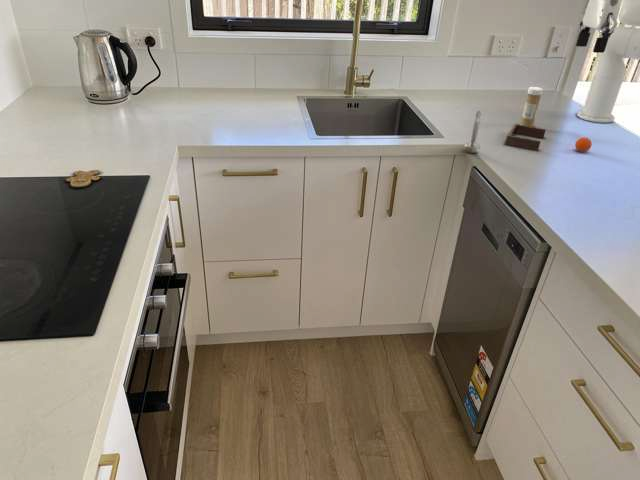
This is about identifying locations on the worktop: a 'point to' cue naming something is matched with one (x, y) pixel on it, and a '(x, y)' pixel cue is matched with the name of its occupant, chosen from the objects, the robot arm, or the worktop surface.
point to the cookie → (83, 178)
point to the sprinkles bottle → (531, 106)
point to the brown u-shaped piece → (525, 142)
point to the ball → (583, 144)
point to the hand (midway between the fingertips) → (589, 49)
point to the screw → (474, 135)
